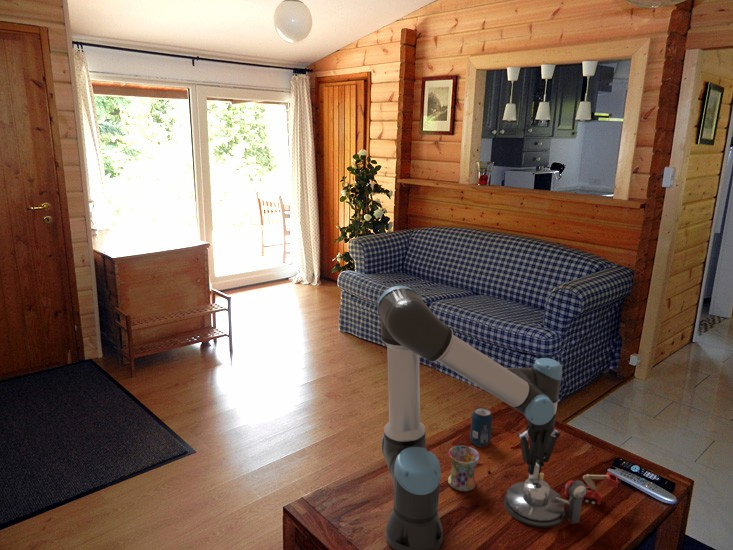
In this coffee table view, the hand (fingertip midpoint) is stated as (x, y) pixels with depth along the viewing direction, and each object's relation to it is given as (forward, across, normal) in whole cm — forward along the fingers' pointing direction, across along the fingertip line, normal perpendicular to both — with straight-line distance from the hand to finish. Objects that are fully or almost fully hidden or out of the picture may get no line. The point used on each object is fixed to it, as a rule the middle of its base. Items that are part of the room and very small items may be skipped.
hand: (532, 482), depth 166 cm
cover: (+1, -2, -6) cm, 7 cm away
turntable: (+3, -3, -6) cm, 7 cm away
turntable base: (+4, -2, -6) cm, 7 cm away
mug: (+4, -19, +10) cm, 22 cm away
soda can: (+4, -3, +29) cm, 29 cm away
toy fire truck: (+4, +15, -7) cm, 17 cm away
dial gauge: (+4, +4, -12) cm, 13 cm away
